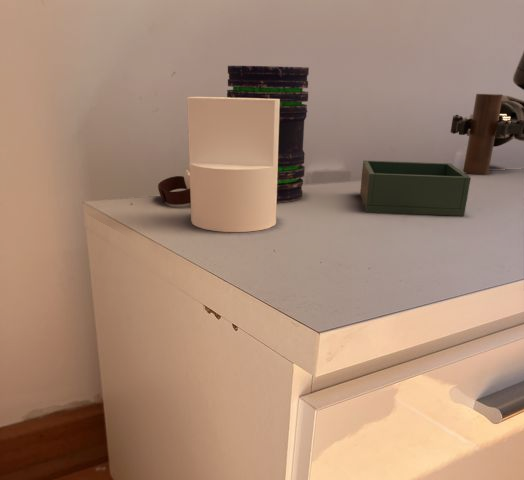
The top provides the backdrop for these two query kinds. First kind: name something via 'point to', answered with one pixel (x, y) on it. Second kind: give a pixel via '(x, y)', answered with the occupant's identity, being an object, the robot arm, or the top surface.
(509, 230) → the top surface
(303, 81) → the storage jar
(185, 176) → the watch
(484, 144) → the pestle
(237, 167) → the cylinder with rectangular tab
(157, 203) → the top surface
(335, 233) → the top surface
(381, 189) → the bin
